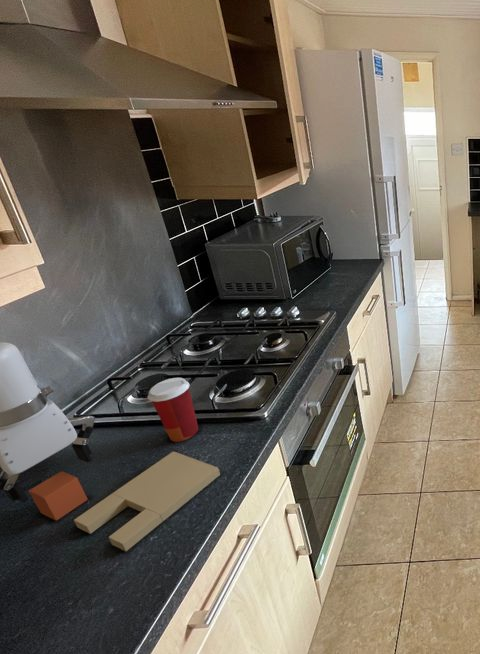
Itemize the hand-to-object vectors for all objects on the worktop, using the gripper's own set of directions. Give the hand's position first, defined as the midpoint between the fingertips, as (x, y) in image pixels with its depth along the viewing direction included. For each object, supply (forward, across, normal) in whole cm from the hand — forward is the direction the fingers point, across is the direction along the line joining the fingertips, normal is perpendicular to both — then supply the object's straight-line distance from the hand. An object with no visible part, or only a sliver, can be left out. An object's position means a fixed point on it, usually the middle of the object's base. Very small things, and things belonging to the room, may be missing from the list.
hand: (55, 478), depth 81 cm
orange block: (+7, +1, 0) cm, 7 cm away
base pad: (+7, -6, +15) cm, 18 cm away
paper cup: (+8, -21, +2) cm, 23 cm away
